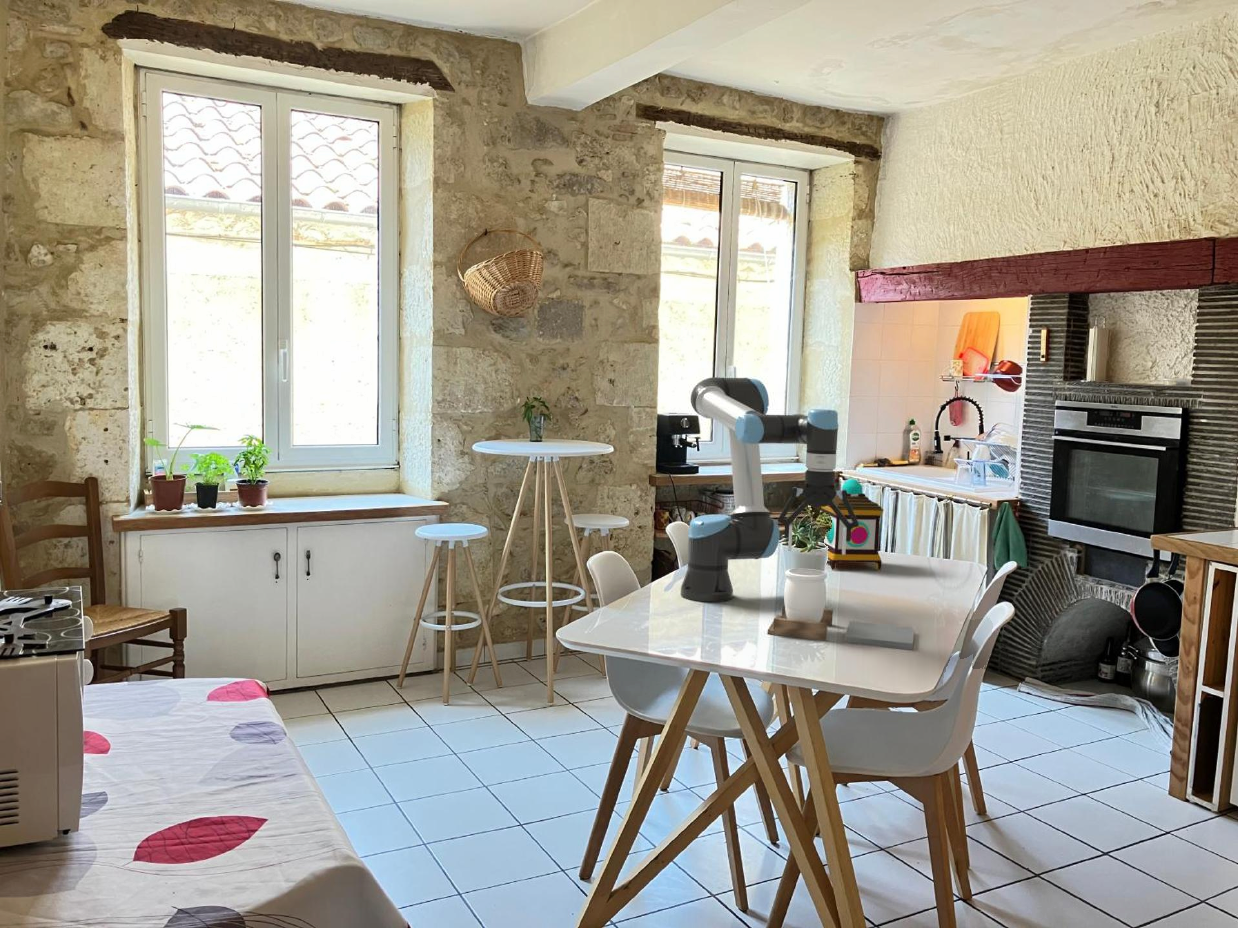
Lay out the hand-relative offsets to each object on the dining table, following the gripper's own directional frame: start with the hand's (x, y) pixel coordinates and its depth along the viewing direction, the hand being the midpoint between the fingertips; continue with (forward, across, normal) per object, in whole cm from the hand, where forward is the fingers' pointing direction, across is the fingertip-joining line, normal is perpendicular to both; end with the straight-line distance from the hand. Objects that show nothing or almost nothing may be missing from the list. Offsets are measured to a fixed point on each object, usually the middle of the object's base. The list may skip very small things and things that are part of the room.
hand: (816, 552), depth 254 cm
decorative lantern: (+19, +11, +88) cm, 90 cm away
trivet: (+20, +16, -5) cm, 26 cm away
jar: (+20, -2, -3) cm, 20 cm away
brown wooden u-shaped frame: (+20, -2, -3) cm, 20 cm away
